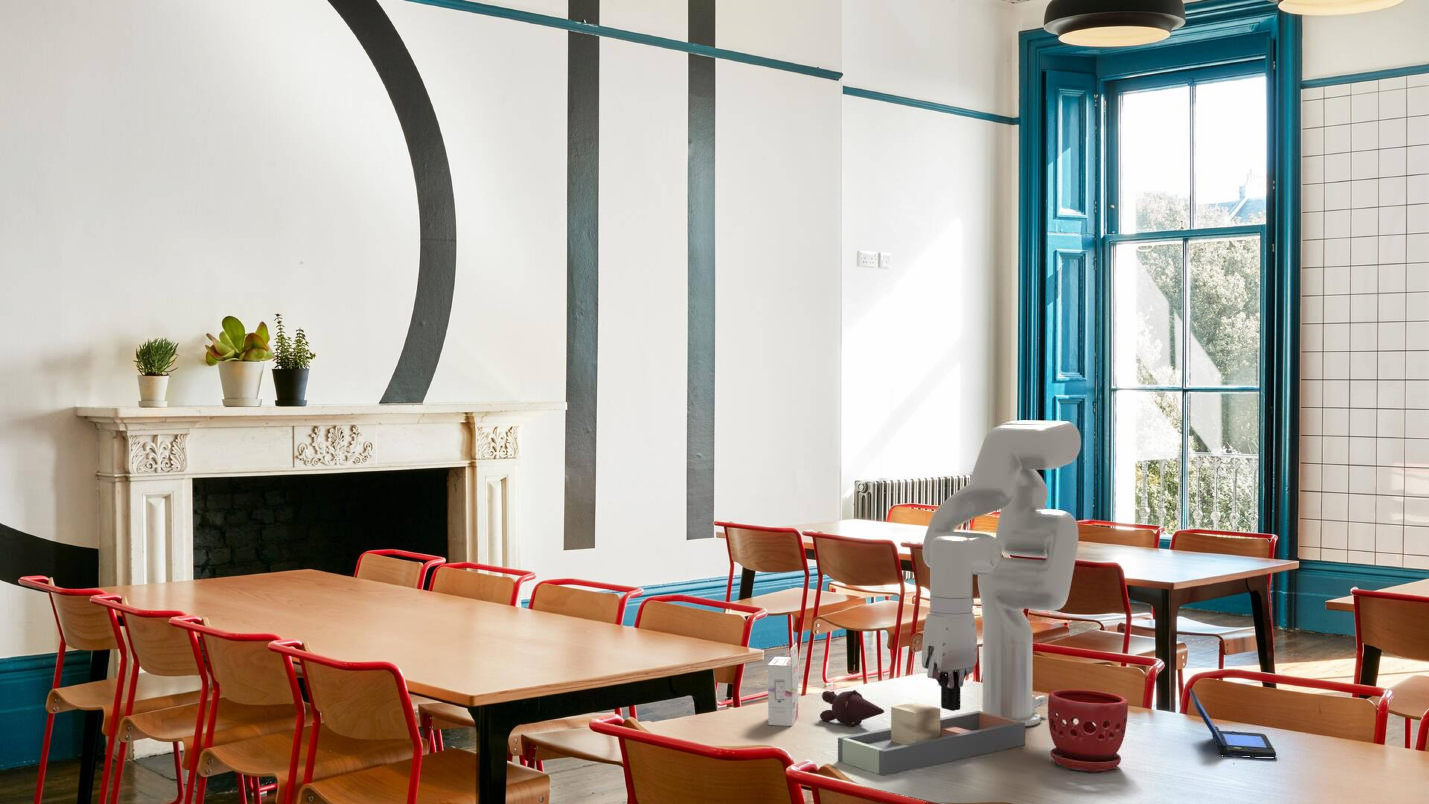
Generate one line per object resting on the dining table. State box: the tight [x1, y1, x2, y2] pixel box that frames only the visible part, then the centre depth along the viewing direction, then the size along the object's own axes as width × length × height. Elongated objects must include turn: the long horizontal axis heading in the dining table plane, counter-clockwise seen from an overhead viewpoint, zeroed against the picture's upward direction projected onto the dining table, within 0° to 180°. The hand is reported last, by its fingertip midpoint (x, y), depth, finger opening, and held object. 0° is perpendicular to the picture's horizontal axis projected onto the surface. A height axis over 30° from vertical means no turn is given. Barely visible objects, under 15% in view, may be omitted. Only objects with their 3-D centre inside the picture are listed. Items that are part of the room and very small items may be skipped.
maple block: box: [890, 702, 941, 745], centre depth 232 cm, size 6×6×6 cm
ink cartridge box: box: [767, 642, 799, 727], centre depth 258 cm, size 9×5×15 cm, turn 168°
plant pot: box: [1047, 688, 1129, 772], centre depth 227 cm, size 13×13×12 cm
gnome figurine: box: [819, 689, 885, 728], centre depth 255 cm, size 7×7×15 cm
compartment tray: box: [837, 710, 1026, 777], centre depth 235 cm, size 35×11×4 cm, turn 126°
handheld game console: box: [1188, 688, 1277, 758], centre depth 240 cm, size 16×13×9 cm
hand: (950, 708), depth 237 cm, fingers closed
